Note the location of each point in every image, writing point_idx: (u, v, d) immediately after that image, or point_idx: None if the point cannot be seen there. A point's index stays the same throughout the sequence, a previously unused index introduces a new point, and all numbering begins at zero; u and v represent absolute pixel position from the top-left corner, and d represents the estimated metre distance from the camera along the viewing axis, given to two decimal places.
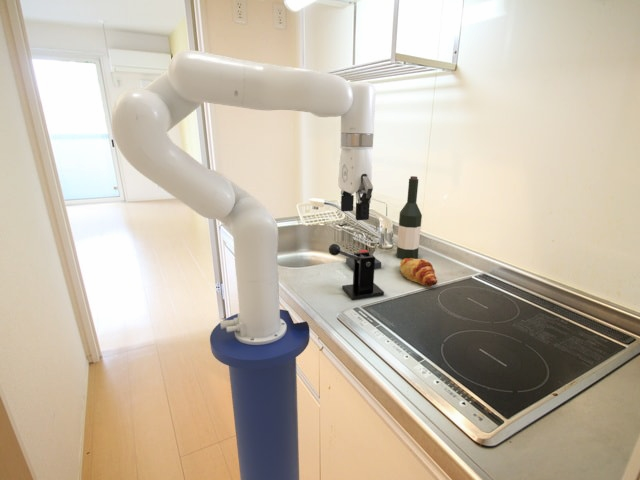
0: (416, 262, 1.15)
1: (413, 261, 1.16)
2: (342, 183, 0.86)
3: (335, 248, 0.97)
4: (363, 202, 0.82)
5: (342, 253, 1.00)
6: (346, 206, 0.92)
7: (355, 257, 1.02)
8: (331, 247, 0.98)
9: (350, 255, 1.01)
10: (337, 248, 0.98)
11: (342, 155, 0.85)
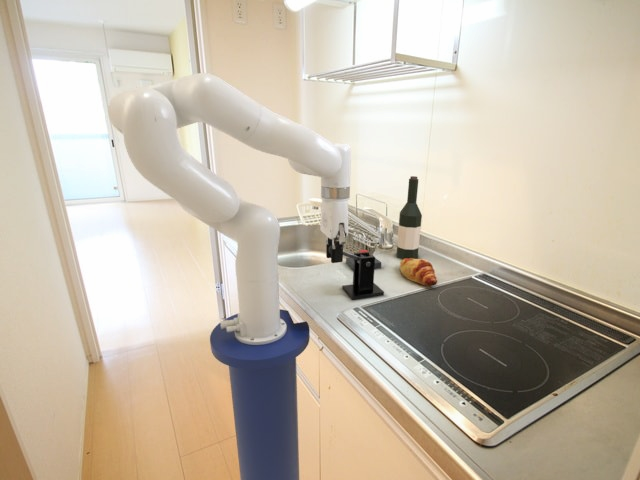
0: (416, 262, 1.15)
1: (413, 261, 1.16)
2: (323, 228, 0.97)
3: None
4: (337, 248, 0.95)
5: None
6: (331, 253, 1.01)
7: (355, 257, 1.02)
8: (331, 247, 0.98)
9: (350, 255, 1.01)
10: None
11: (323, 204, 0.95)
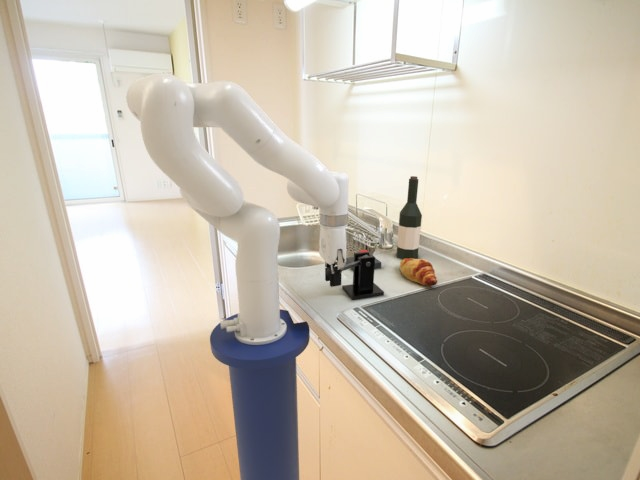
0: (416, 262, 1.15)
1: (413, 261, 1.16)
2: (322, 253, 0.99)
3: None
4: (335, 273, 0.98)
5: None
6: (330, 276, 1.03)
7: (354, 264, 1.02)
8: (327, 273, 1.00)
9: (348, 266, 1.02)
10: None
11: (321, 229, 0.98)
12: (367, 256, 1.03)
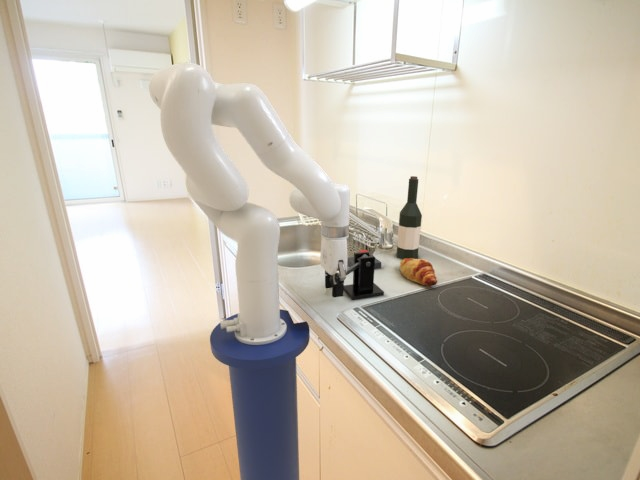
0: (416, 262, 1.15)
1: (413, 261, 1.16)
2: (323, 263, 1.00)
3: None
4: (338, 284, 0.98)
5: None
6: (329, 284, 1.05)
7: (355, 267, 1.03)
8: (331, 282, 1.01)
9: (350, 270, 1.02)
10: None
11: (323, 240, 0.99)
12: (366, 256, 1.03)
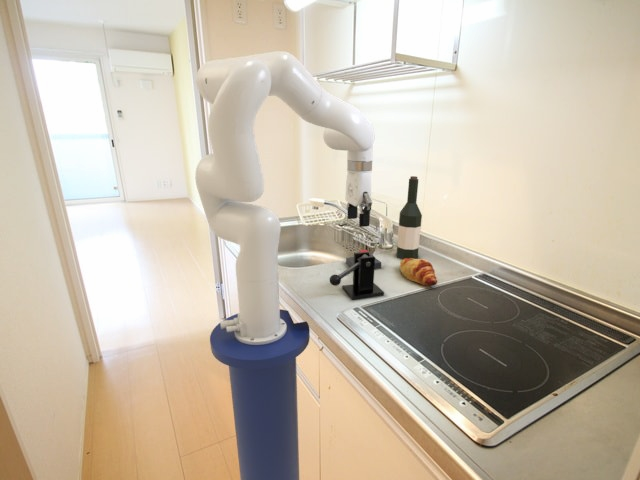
0: (416, 262, 1.15)
1: (413, 261, 1.16)
2: (348, 198, 1.12)
3: (334, 281, 1.01)
4: (365, 213, 1.07)
5: (343, 276, 1.02)
6: (351, 215, 1.18)
7: (355, 267, 1.03)
8: (331, 282, 1.01)
9: (350, 270, 1.02)
10: (335, 279, 1.01)
11: (348, 176, 1.10)
12: (366, 256, 1.03)
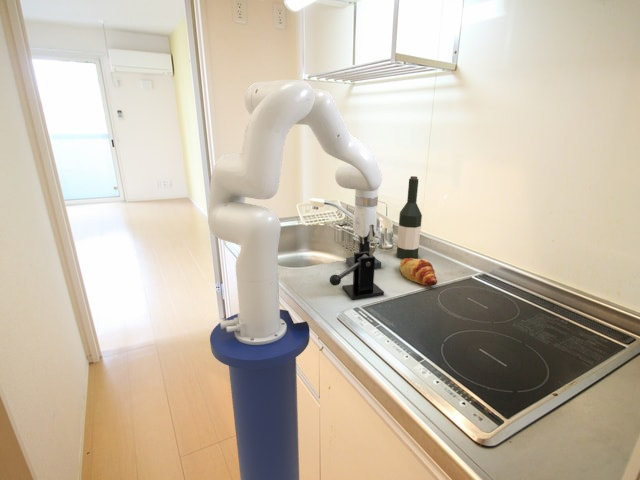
0: (416, 262, 1.15)
1: (413, 261, 1.16)
2: (356, 229, 1.23)
3: (334, 281, 1.01)
4: (365, 243, 1.23)
5: (343, 276, 1.02)
6: None
7: (355, 267, 1.03)
8: (331, 282, 1.01)
9: (350, 270, 1.02)
10: (335, 279, 1.01)
11: (356, 210, 1.22)
12: (366, 256, 1.03)
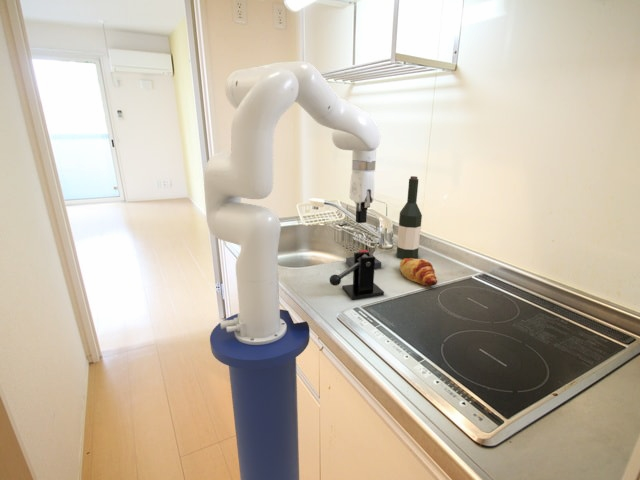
0: (416, 262, 1.15)
1: (413, 261, 1.16)
2: (352, 195, 1.19)
3: (334, 281, 1.01)
4: (362, 210, 1.19)
5: (343, 276, 1.02)
6: None
7: (355, 267, 1.03)
8: (331, 282, 1.01)
9: (350, 270, 1.02)
10: (335, 279, 1.01)
11: (353, 175, 1.18)
12: (366, 256, 1.03)
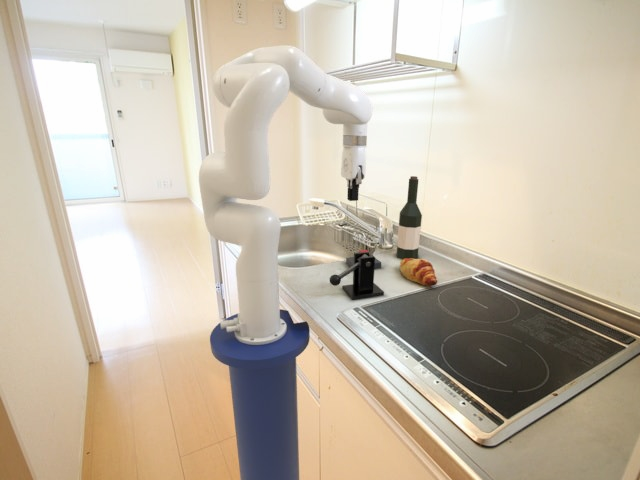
0: (416, 262, 1.15)
1: (413, 261, 1.16)
2: (344, 172, 1.17)
3: (334, 281, 1.01)
4: (354, 187, 1.17)
5: (343, 276, 1.02)
6: None
7: (355, 267, 1.03)
8: (331, 282, 1.01)
9: (350, 270, 1.02)
10: (335, 279, 1.01)
11: (344, 151, 1.15)
12: (366, 256, 1.03)
